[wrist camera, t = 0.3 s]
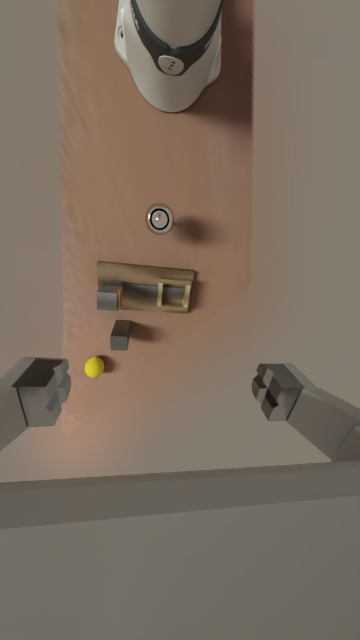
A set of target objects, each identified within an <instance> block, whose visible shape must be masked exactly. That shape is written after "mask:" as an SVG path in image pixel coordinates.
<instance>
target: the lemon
mask: <svg viewBox="0 0 360 640" xmlns="http://www.w3.org/2000/svg"><path fill="white" fill-rule="evenodd" d="M103 370H104V362H103V361H102V359H100V358H99V357H93V358H90V359H89V360H88V361H87V363H86V364H85V372H86V374H87V375H88V376H89V377H92V378H96V377H98V376H99V375H101V373H102V372H103Z"/></svg>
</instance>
